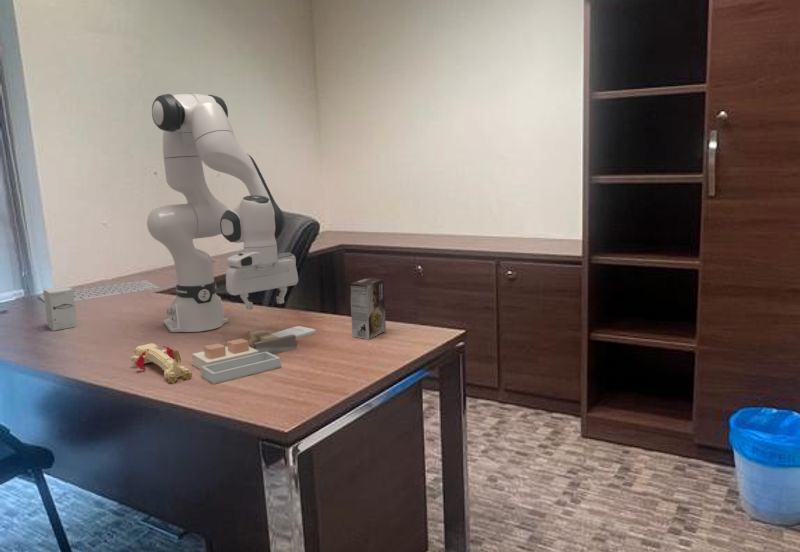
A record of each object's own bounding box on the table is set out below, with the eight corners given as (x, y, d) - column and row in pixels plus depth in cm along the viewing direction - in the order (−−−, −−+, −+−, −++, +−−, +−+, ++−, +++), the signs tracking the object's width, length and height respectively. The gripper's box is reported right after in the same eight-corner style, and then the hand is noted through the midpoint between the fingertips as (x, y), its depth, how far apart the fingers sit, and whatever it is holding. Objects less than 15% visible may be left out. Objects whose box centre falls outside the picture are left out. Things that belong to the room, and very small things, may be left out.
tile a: (204, 355, 176) (203, 346, 175) (219, 352, 178) (218, 343, 178) (210, 359, 173) (210, 349, 172) (225, 355, 175) (225, 346, 175)
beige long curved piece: (200, 381, 170) (160, 353, 188) (198, 348, 167) (158, 322, 186) (161, 391, 163) (123, 361, 182) (158, 357, 161) (120, 330, 179)
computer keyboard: (47, 306, 257) (47, 302, 257) (37, 299, 271) (37, 295, 271) (162, 289, 282) (161, 285, 282) (147, 283, 297) (147, 279, 297)
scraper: (234, 348, 193) (233, 334, 192) (273, 339, 200) (272, 326, 199) (256, 358, 182) (255, 344, 182) (296, 349, 190) (295, 335, 189)
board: (192, 365, 178) (191, 353, 178) (242, 353, 187) (241, 343, 186) (208, 374, 171) (207, 362, 170) (259, 361, 179) (258, 350, 178)
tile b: (228, 350, 180) (227, 341, 179) (242, 347, 182) (241, 338, 182) (234, 353, 176) (233, 344, 176) (248, 350, 179) (248, 341, 178)
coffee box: (368, 329, 207) (366, 277, 204) (386, 332, 204) (384, 278, 201) (351, 337, 199) (348, 283, 196) (369, 339, 196) (367, 284, 193)
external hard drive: (266, 340, 201) (297, 330, 211) (284, 344, 196) (316, 334, 206) (265, 334, 201) (297, 325, 210) (284, 338, 196) (315, 328, 205)
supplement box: (53, 331, 218) (48, 292, 215) (47, 327, 223) (42, 289, 221) (77, 327, 222) (73, 289, 220) (71, 323, 228) (67, 285, 226)
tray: (201, 376, 169) (200, 366, 169) (267, 360, 180) (266, 351, 179) (213, 384, 163) (212, 373, 163) (281, 367, 174) (280, 357, 174)
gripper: (289, 250, 194) (292, 298, 196) (221, 259, 182) (225, 310, 184) (300, 252, 189) (304, 301, 191) (231, 262, 177) (236, 314, 179)
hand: (265, 306), depth 188 cm, fingers open, 8 cm apart
